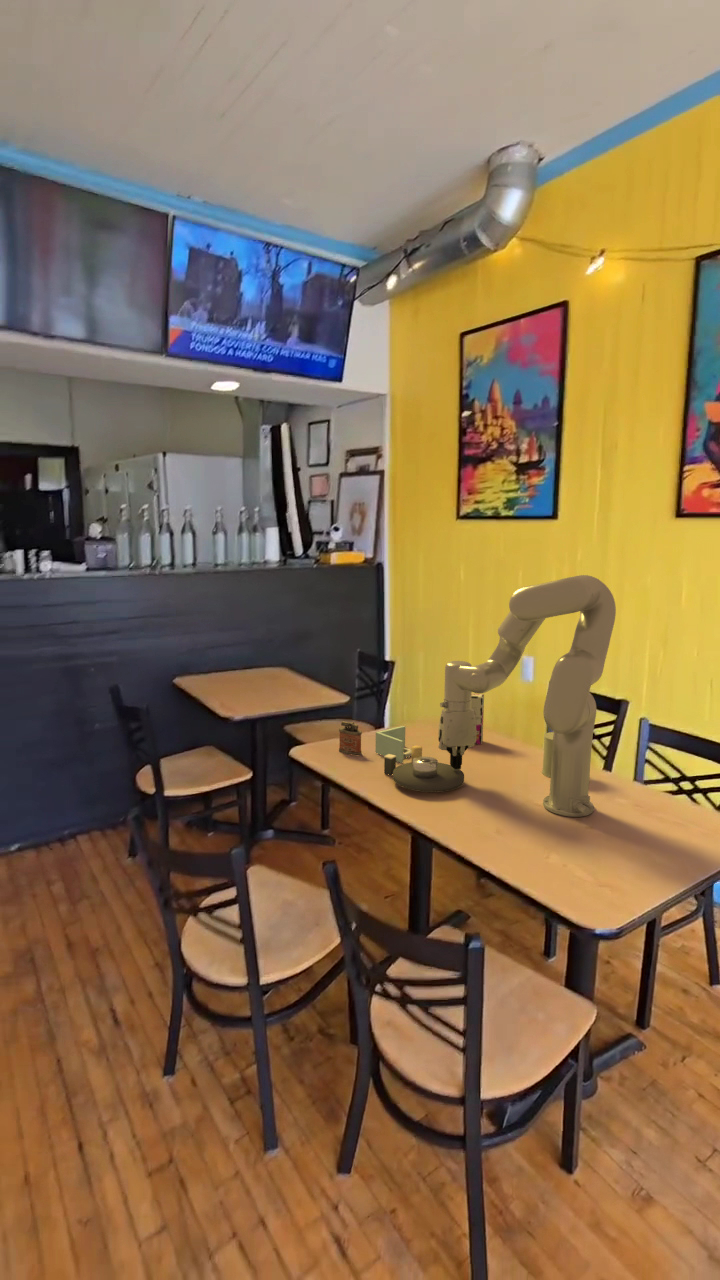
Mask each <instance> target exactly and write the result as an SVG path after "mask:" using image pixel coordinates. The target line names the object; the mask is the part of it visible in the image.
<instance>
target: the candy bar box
mask: <svg viewBox="0 0 720 1280" xmlns="http://www.w3.org/2000/svg"><path fill="white" fill-rule="evenodd" d="M484 704H485V693H481V694H479V693H472V694H471V709H473V710H474V714H475V720H476V742H475V743H474V745H482V743H483V740H484V711H485V710H484V707H485V706H484Z"/></svg>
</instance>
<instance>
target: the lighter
mask: <svg viewBox="0 0 720 1280" xmlns="http://www.w3.org/2000/svg"><path fill="white" fill-rule="evenodd" d="M340 726H343V727H339V728H338V733H339V748H338V752H339V753H341V752H342V753H343V754H345V753H346V755H349V754H352V755H351V756H356V755H359V756H361V755H362V752H363V751H362V734H363V731H362V730H360V729H359V724H358V723H357V724H356V723H355V722H353V721H352V722H348V721H344V720H343V721H341V722H340ZM342 753H341V754H342Z"/></svg>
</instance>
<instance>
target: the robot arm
mask: <svg viewBox="0 0 720 1280" xmlns="http://www.w3.org/2000/svg"><path fill="white" fill-rule="evenodd" d="M508 602H509V603H508V606H509V612H508V613H507V615H506V617H505V618H504V619H503V621H502V622H501V624H500V625H499V626H498V629H497V633H498V634H497V635H498V636H499V641H498V643H497V646H496V647H495V649H494V651H493V652H492V653H491V655H490V657H489V658H488V659H487V661H486V662H483V663H479V664H477V665H473V666H472V664H471V663H470V662H468V661H463V660H451V661H448V662H447V663H446V664H445V667H444V697H443V701H442V702H440V703H439V706H440V708H443V709H442V710H441V713H440V717H439V724H438V734H437V735H438V742H439V744H438V749H439V750H441V751H446V752H448V753H449V755H450V757H449V765H451V767H453V768H454V769H455V770H456V769H460V770H461V769H462V765H463V756H464V755H465V752H466V751H467V750H468V749H469V748H472V747H474V746H475V744H474V743H475V742H476V720H475V714H474V710H473V709H471V694H485V693H487V692H490V691H492V690H493V689H496V688H498V687H500V686H502V685H503V683H505V682H506V680H508V678H509V676H510V675H511V673H512V672H513V671H514V669H515V668H516V667H517V666H518V664H519V662H520V660H521V659H522V656H523V654H524V651H525V650H526V646H527V645H528V644H529V642H530V641H531V640H532V638H533V637H534V635H535V634H536V633H537V632H538V630H539V628H540V627H541V625H542V624H543V623H544V621H545V620H546V619H548V618H553V617H558V616H563V615H569V614H574V613H575V614H576V613H578V612H579V613H580V614H579V615H580V616H579V619H578V621H577V625H576V626H575V630H574V635H573V638H572V639H573V640H572V642H571V646H570V649H569V651H568V652H567V653H564V654H563V655H562V656H561V657H559V658H558V660H557V661H556V662H555V664H554V667H553V669H552V671H551V676H550V680H549V684H548V689H547V693H546V696H545V701H544V704H543V711H542V712H543V719H544V723H545V724H546V726H547V728H548V729H550V730H551V732H554V735H553V747H552V763H551V778H550V781H549V782H550V783H549V795H547V796H545V797H544V798H543V799H542V805H543V807H544V809H546V810H547V811H548V812H551V813H553V814H556V815H558V816H565V817H569V818H570V817H574V818H579V817H587V816H590V815H591V814H593V812H594V811H595V808H596V807H595V805H594V804H593V803H592V801H591V796H590V795H589V792H590V791H589V788H590V774H591V760H592V747H593V746H592V745H593V736H594V735H593V734H594V729H595V722H596V716H597V703H596V700H595V698H594V696H593V694H592V693H591V692H590V690H591V687H592V686H593V685H594V684H595V683H597V682H598V681H599V680H601V677H602V675H603V672H604V667H605V663H606V659H607V655H608V650H609V648H610V643H611V637H612V634H613V630H614V625H615V621H616V615H617V609H616V601H615V598H614V595H613V593H612V592H611V589H609V587H608V586H607V585H606V584H605V583H604V582H602V580H600V579H599V578H597V577H595V576H592V575H588V574H583V575H582V574H581V575H580V574H579V575H576V576H569V577H563V578H561V579H556V580H553V581H548V582H542V583H540V584H539V583H538V584H532V585H527V586H522V587H519V588H517V589H516V590H515V591H514V592H513V593H512V594H511V596H510V599H509V601H508Z"/></svg>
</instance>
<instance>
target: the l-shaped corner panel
mask: <svg viewBox="0 0 720 1280" xmlns="http://www.w3.org/2000/svg"><path fill="white" fill-rule="evenodd" d="M404 746H405V747H404ZM374 752H376V753H378V754H377V755H379V754H381V755H383V756H382V757H384V756H386V755H388V754H392V755H396V761H398V762H397V763H399V762H400V763H399V764H403V763H404V759H407V758H406V757H408V758H410V757H409V756H411V757H412V748H407V747H406V726H405V725H401V726H397V727H396V726H395V727H393V728H389V729H384V730H381V731H376V732H375V751H374ZM403 752H404V753H403ZM376 753H375V754H376ZM381 755H380V756H381ZM402 762H403V763H402Z"/></svg>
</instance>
